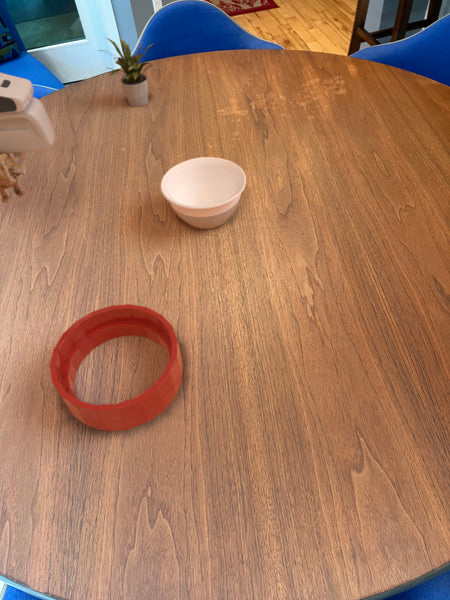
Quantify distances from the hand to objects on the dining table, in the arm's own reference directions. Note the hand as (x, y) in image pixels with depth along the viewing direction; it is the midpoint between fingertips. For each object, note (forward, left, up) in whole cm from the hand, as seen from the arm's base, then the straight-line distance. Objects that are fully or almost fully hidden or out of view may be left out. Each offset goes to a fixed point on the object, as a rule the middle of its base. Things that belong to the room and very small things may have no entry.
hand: (5, 173), depth 81 cm
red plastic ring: (+20, -32, -16) cm, 41 cm away
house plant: (+14, +55, -16) cm, 58 cm away
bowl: (+33, +4, -16) cm, 37 cm away
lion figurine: (+1, -1, -3) cm, 3 cm away
